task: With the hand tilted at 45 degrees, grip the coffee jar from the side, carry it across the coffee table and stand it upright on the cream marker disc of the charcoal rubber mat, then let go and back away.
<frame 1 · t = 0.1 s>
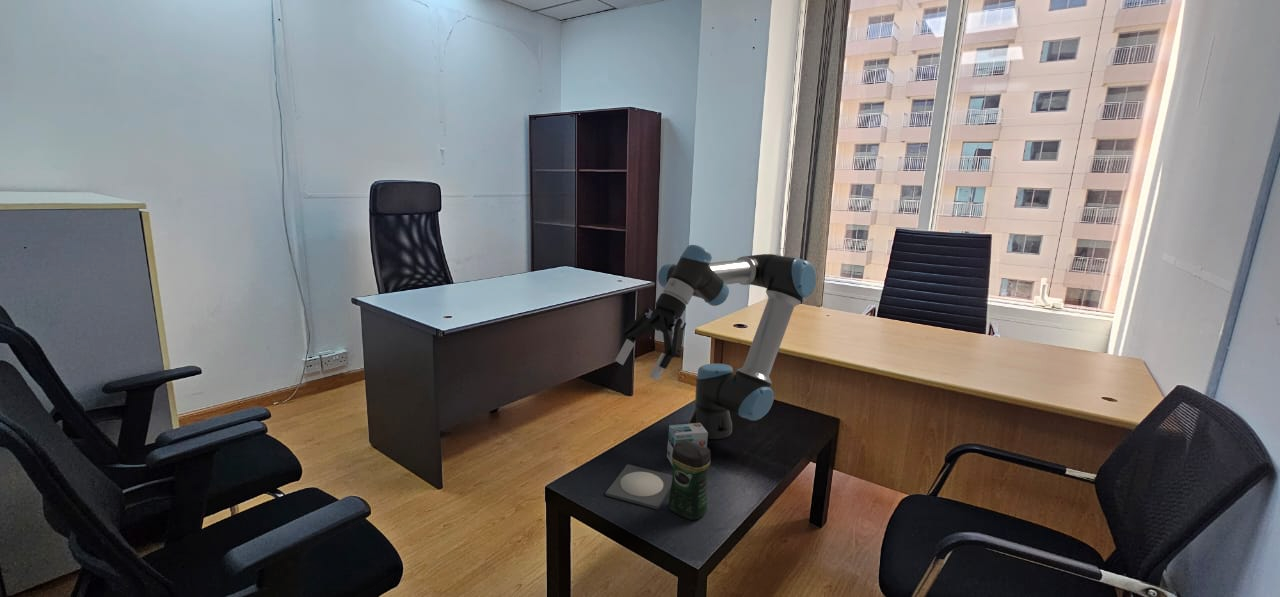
hand: (635, 370, 135), 36 cm above the table, tool tilted 35°, fingers open, 13 cm apart
marker mat: (641, 486, 147), on the table
light bulb box: (685, 461, 162), on the table
coffee jar: (687, 510, 138), on the table
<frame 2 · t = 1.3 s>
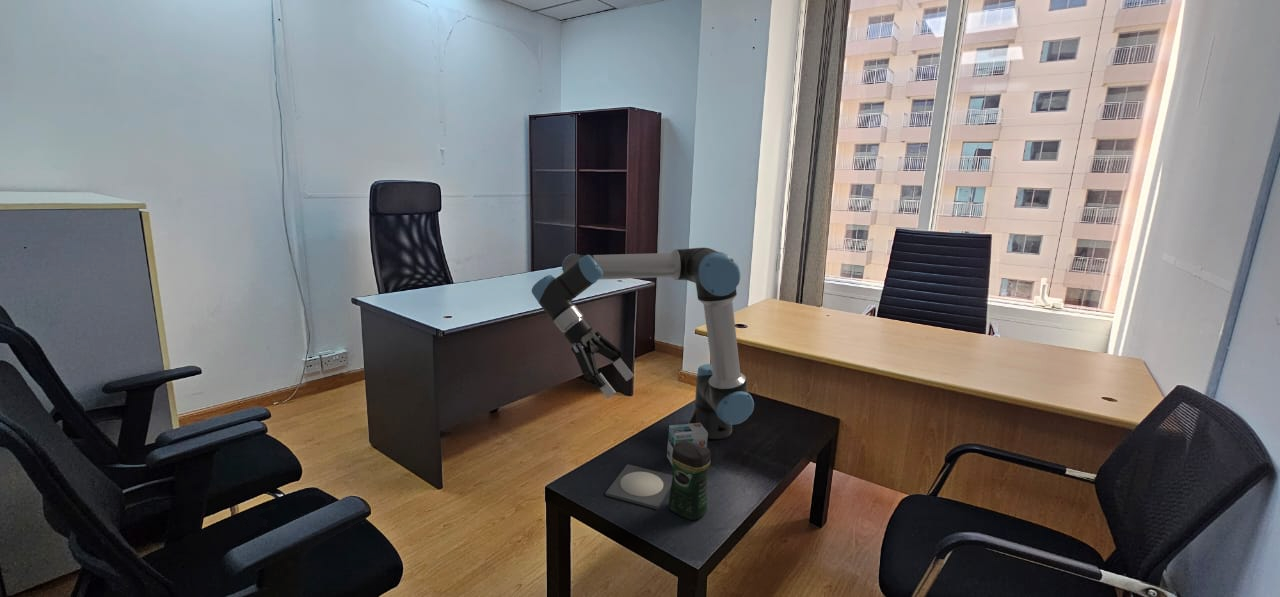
hand: (621, 386, 145), 28 cm above the table, tool tilted 45°, fingers open, 13 cm apart
nothing on the table moved.
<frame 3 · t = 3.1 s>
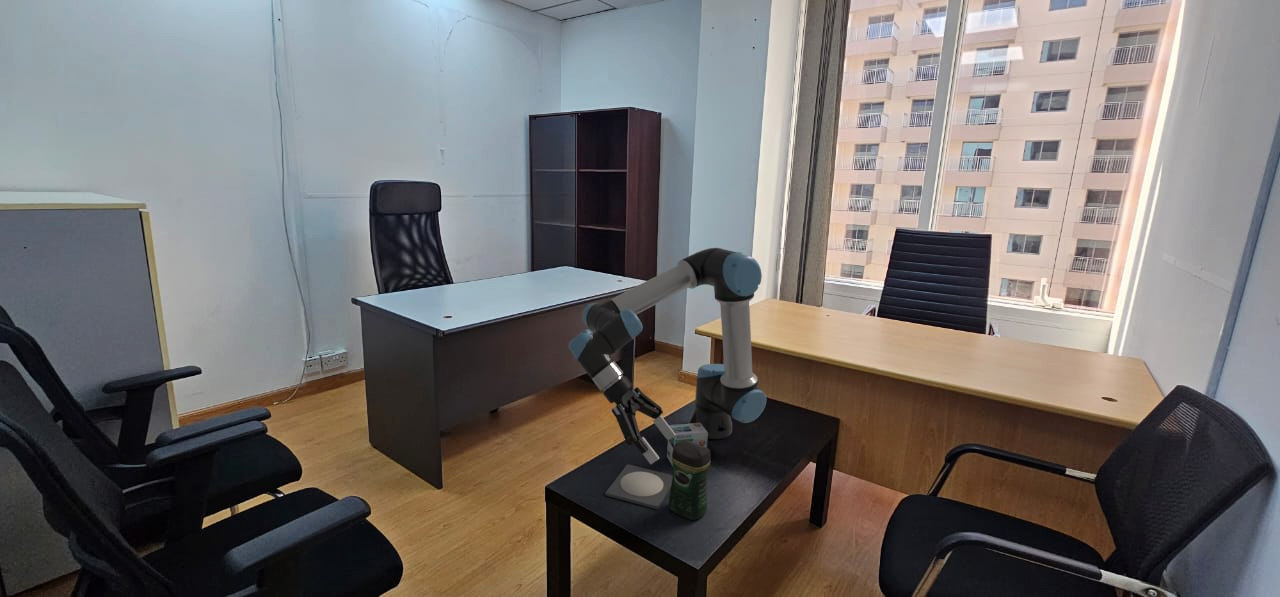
hand: (664, 448, 136), 16 cm above the table, tool tilted 45°, fingers open, 13 cm apart
nothing on the table moved.
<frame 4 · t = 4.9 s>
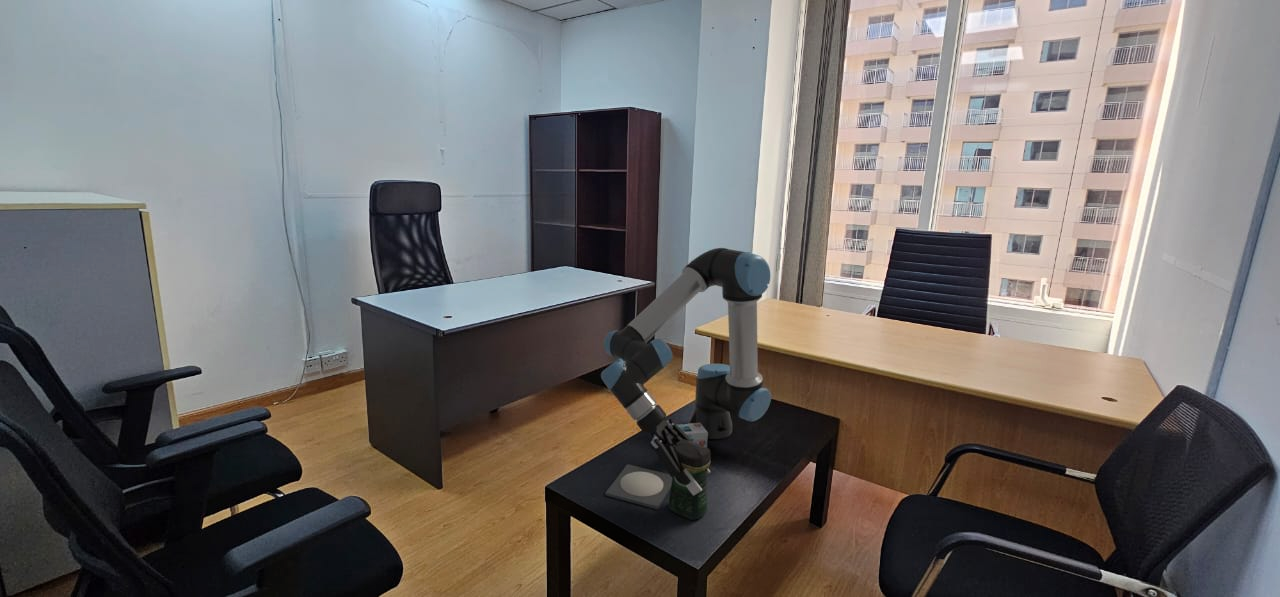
hand: (702, 483, 135), 9 cm above the table, tool tilted 45°, fingers closed on coffee jar, 8 cm apart
coffee jar: (687, 510, 138), on the table, touching gripper
everything else where it was.
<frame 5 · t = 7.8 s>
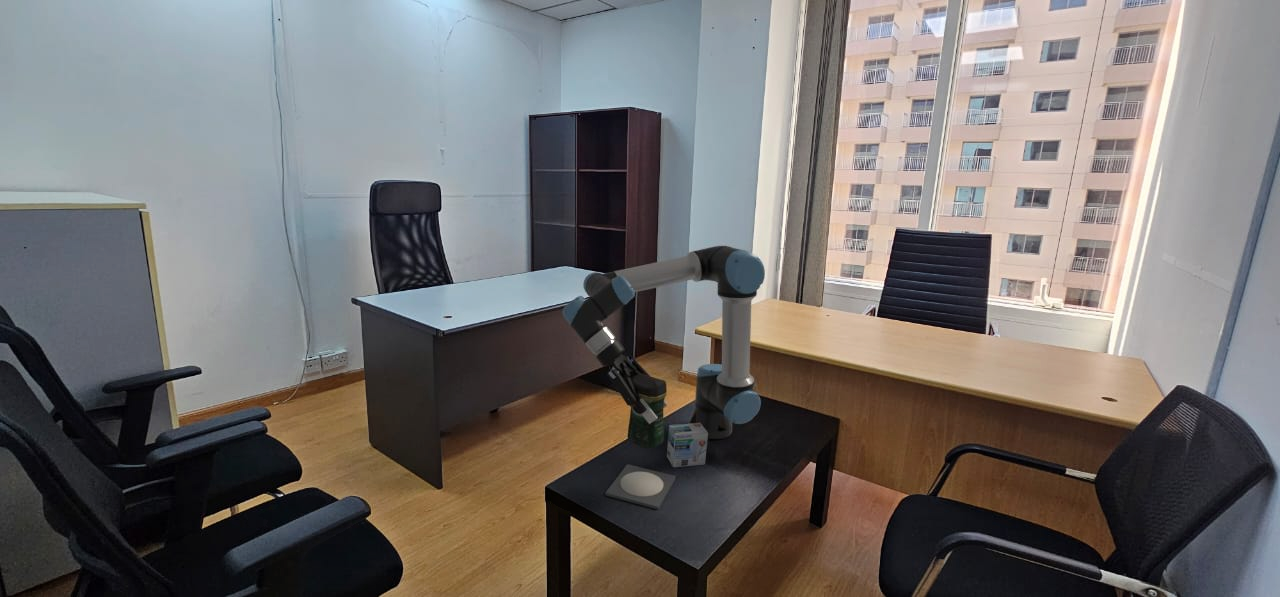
hand: (658, 413, 141), 23 cm above the table, tool tilted 45°, fingers closed on coffee jar, 8 cm apart
coffee jar: (645, 441, 144), point 14 cm above the table, touching gripper
everything else where it was.
when the fingers open (11 cm above the table, at t = 10.5 s): coffee jar stays where it is, resting on marker mat.
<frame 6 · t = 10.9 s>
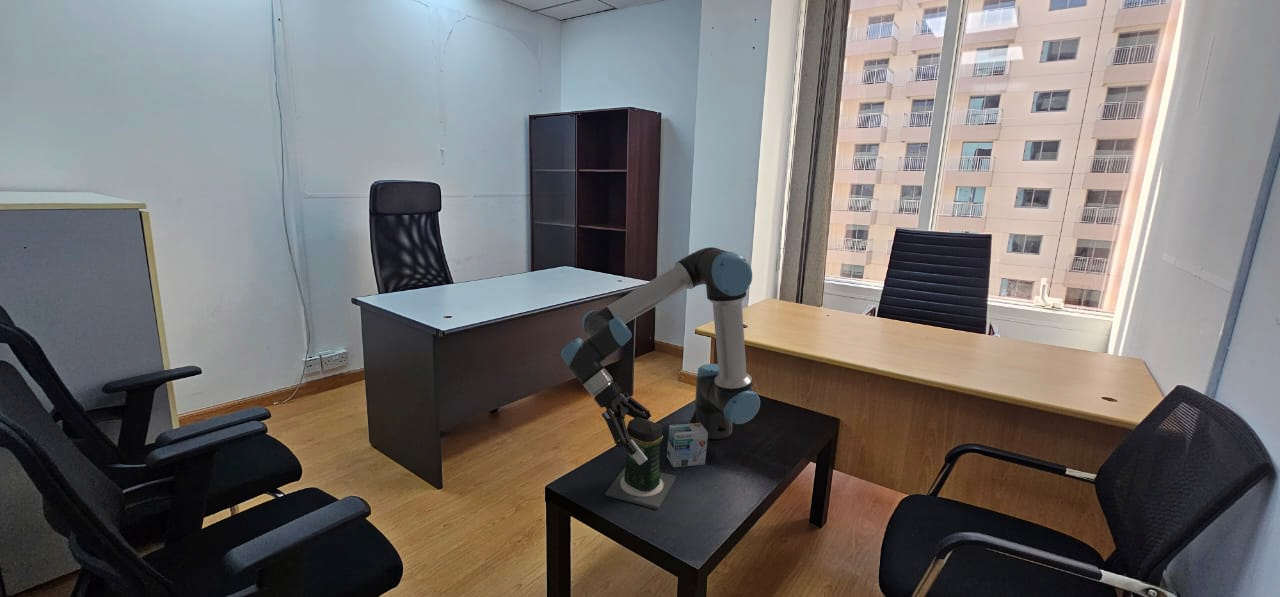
hand: (652, 450, 144), 12 cm above the table, tool tilted 45°, fingers open, 13 cm apart
coffee jar: (641, 483, 147), point 1 cm above the table, touching marker mat
everything else where it was.
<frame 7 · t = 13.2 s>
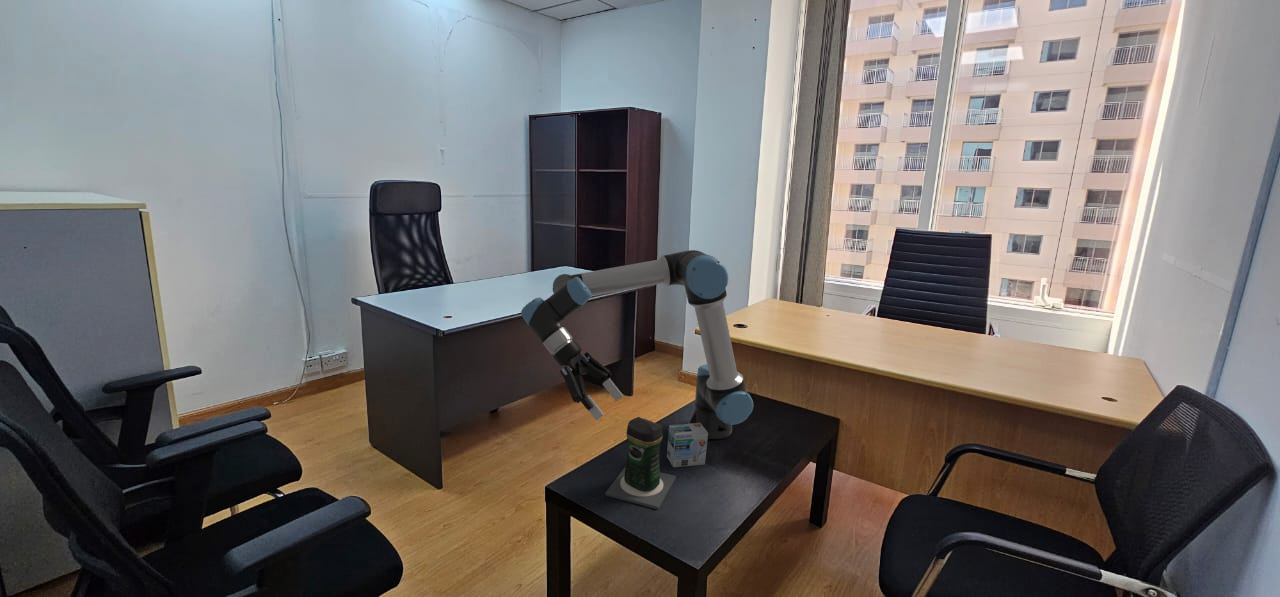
hand: (610, 407, 146), 22 cm above the table, tool tilted 45°, fingers open, 13 cm apart
nothing on the table moved.
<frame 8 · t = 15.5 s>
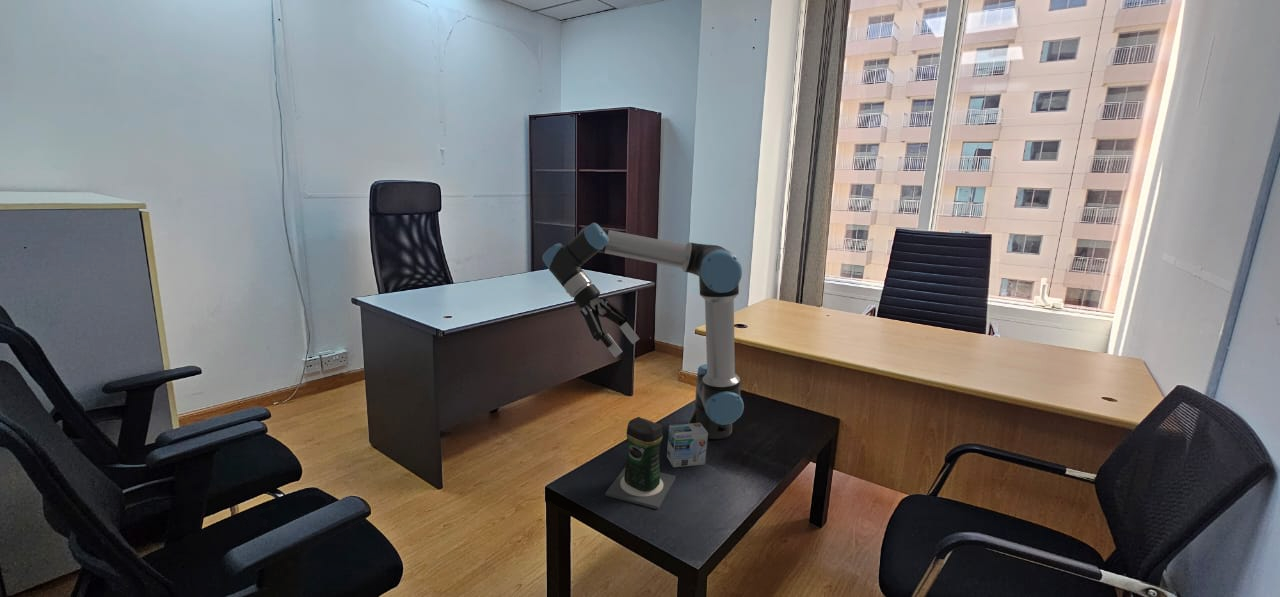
hand: (628, 347, 153), 36 cm above the table, tool tilted 45°, fingers open, 13 cm apart
nothing on the table moved.
at the end: coffee jar inside the target area on the marker mat (0.1 cm from its centre), point 0.8 cm above the marker mat's base; coffee jar tilted 0°; the gripper is holding nothing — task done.
